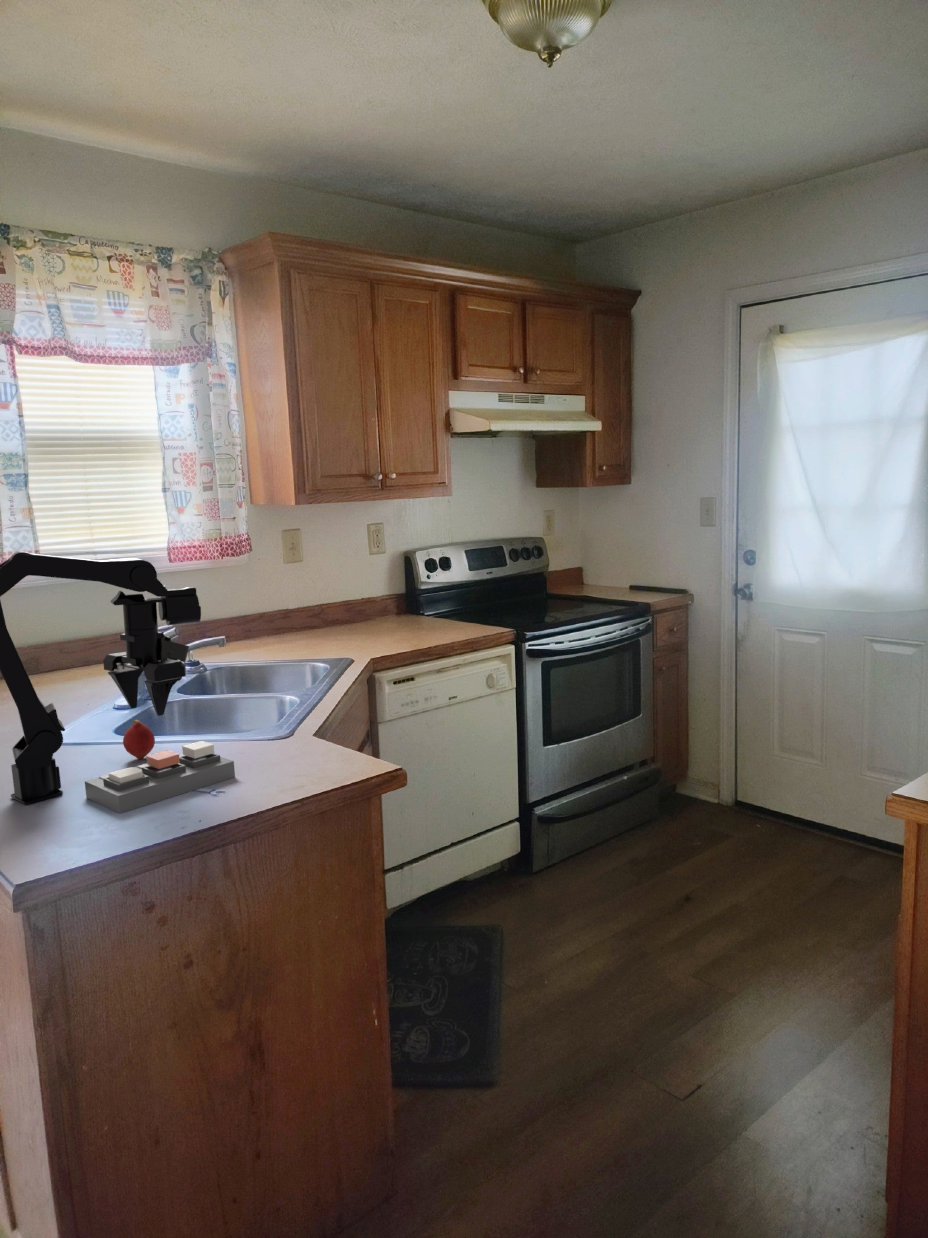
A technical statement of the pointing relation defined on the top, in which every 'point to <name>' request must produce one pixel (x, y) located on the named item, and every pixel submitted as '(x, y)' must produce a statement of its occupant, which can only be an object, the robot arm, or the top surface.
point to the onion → (138, 740)
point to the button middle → (162, 759)
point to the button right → (198, 749)
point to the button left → (125, 775)
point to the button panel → (159, 782)
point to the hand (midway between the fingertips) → (146, 711)
